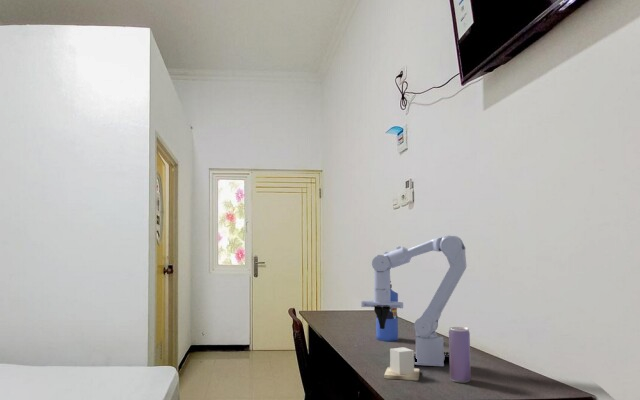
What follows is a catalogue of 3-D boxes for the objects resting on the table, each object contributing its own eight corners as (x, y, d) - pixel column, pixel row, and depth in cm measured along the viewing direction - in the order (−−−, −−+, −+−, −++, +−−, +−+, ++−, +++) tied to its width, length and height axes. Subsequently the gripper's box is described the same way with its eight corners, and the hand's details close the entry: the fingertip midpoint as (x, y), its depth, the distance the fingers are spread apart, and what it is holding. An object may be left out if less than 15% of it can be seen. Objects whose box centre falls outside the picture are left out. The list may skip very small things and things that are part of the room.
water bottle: (402, 338, 210) (401, 278, 212) (392, 342, 202) (392, 280, 204) (381, 336, 215) (381, 277, 217) (372, 339, 207) (371, 279, 209)
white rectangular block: (404, 368, 156) (404, 347, 156) (414, 372, 151) (413, 350, 152) (390, 370, 154) (390, 348, 154) (399, 374, 149) (399, 352, 149)
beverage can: (467, 384, 142) (466, 330, 144) (447, 381, 145) (446, 329, 147) (473, 379, 147) (471, 327, 149) (453, 376, 150) (452, 326, 152)
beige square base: (419, 371, 156) (419, 352, 156) (418, 380, 146) (418, 359, 147) (387, 370, 158) (387, 350, 159) (384, 378, 148) (384, 357, 149)
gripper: (403, 288, 178) (404, 327, 177) (363, 287, 181) (363, 325, 180) (402, 290, 171) (402, 330, 170) (360, 289, 174) (360, 328, 173)
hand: (382, 328), depth 174 cm, fingers closed
